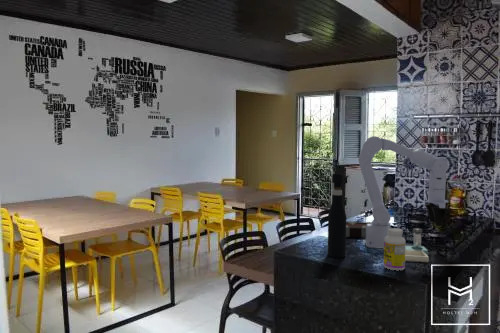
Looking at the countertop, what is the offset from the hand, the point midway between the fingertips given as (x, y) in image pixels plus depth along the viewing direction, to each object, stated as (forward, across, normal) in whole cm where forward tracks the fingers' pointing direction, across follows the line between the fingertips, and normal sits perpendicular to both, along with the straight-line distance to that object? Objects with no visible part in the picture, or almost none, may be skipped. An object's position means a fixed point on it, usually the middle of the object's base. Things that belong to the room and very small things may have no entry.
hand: (435, 223), depth 152 cm
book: (+11, +22, +25) cm, 35 cm away
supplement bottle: (+10, -27, +20) cm, 36 cm away
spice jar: (+10, -6, +8) cm, 15 cm away
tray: (+10, -14, +11) cm, 21 cm away
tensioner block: (+10, -6, +9) cm, 15 cm away
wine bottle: (+11, -15, +38) cm, 42 cm away
